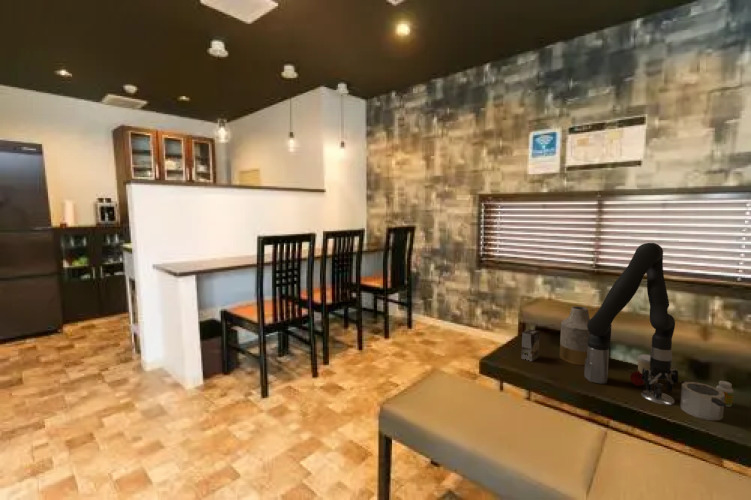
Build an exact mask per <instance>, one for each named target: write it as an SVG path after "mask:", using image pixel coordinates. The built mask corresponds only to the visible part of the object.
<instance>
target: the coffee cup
mask: <svg viewBox="0 0 751 500" xmlns="http://www.w3.org/2000/svg"><path fill="white" fill-rule="evenodd" d="M643 368H645V369H650V368H651V366H650V354H642V353H641V354H638V355H637V370H639V372H640V373H641V374H642V371H643ZM652 378H654V377H653V376H652ZM658 381H659V379H657V380H656V381H654V382H657V383H659V382H658ZM654 382H653V383H654ZM653 383H652V385H653Z"/></svg>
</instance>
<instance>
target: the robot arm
mask: <svg viewBox="0 0 751 500" xmlns="http://www.w3.org/2000/svg"><path fill="white" fill-rule="evenodd" d="M645 275H646V292H647V297H648V298H647V299H648V302H649V303H648V304H649V321H650V324H651V326H652V328H653V329H654V330H655V331H654V333H653V334H652V335H651V336H652V338H651V347H650V354H649V355H650V366H651V368H650V369H645V368H643V371H642V381H644V384H645V390H648V391H649V392H652V390H653V384H652V383H653V382H654V381H656V380H657V379H658V380H666V385H665V386H666V387H665V388H666V389H665V390H666V391H667V392H669V393H672V391H673V387H674V384H678V383H679V371H678V370H677V369H675V368H674V367H673V368H672V359H673V358H672V357H673V354H672V353H673V352H672V349H673V348H672V346H673V345H672V342H673V341H672V340H673V335H674V333H675V329H676V328H675V327H676V321H675V318H674V317H673V316H672V315H671V313H668V309H669V307H670V301H669V295H668V290H667V285H666V281H665V276H664V250H663V248H662V246H661V245H659V244H657V243H655V242H646V243H642V244H640V245H639V246H638V247H637V248H636V250H635V251H634V254H633V256H632V258H631V260H630V261H629V264H628V265H627V267H625V269H624V270H623V271H622V272H621V274H620V275H619V277H618V278H617V279H616V281H615V282H614V283H613V285H612V286H611V288H610V289H609V290H608V292H607V295H606V296H605V298H604V300H603V302H602V304H601V305H600V307H599V308H598V310H596V312H595V313H594V315H593V316H592V317H590V320H589V321H588V324H587V328H588V331H589V332H590V335H589V339H588V349H587V359H585V366H584V375H583V376H584V378H585V379H586V380H587V381H589V382H591V383H595V384H596V383H597V384H608V383H607V382H608V376H609V375H608V374H609V373H608V372H609V359H610V358H609V357H610V356H609V355H610V345H611V339H612V323H613V321H614V320H615V318H616V317H617V315H618V314H619V313H621V312H622V310H623V309H624V308H625V307H626V306H627V305H628V304H630V301H631V300H632V299H633V298H634V296H635V294H636V293H637V291H638V290H639V288H640V285H641V283H642V281H643V278H644V276H645ZM652 376H653V377H654V378H652Z"/></svg>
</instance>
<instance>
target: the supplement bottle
mask: <svg viewBox="0 0 751 500" xmlns="http://www.w3.org/2000/svg"><path fill="white" fill-rule="evenodd" d="M715 388H717V389H719V390H720V391H722V392H723V393H724V395H725V400H724V403H726V406H725V407H726V408H727V407H729V408H730V407H732V406H733V401H734V389H733V388H732V383H731V382H729V381H725V380H719V382H718V385H716V387H715Z"/></svg>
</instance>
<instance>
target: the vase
mask: <svg viewBox="0 0 751 500" xmlns="http://www.w3.org/2000/svg"><path fill="white" fill-rule="evenodd" d="M590 319H591V316H590V314H589V309H588V307H585V306H580V305H579V306H578V305H575V306H571V309H570V312H569V315H568V317H567V318H565V319H563V320H561V322H560V338H559V339H560V340H559V341H560V342H559V358H560V359H561V360H563V361H564V362H566V363H569V364H573V365H576V366H577V365H578V366H583V367H585V359H587V349H588V339H589V335H590V332H589V331H588V328H587V324H588V321H589V320H590Z"/></svg>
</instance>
